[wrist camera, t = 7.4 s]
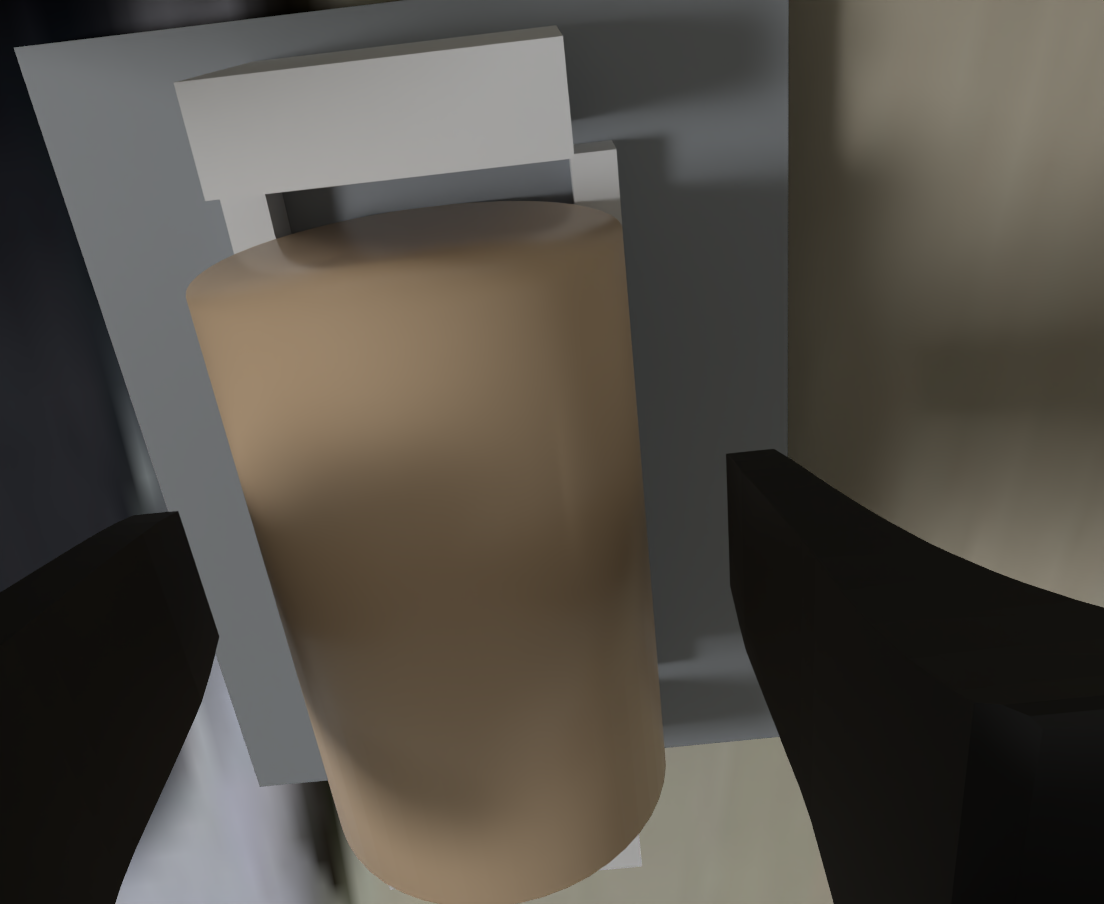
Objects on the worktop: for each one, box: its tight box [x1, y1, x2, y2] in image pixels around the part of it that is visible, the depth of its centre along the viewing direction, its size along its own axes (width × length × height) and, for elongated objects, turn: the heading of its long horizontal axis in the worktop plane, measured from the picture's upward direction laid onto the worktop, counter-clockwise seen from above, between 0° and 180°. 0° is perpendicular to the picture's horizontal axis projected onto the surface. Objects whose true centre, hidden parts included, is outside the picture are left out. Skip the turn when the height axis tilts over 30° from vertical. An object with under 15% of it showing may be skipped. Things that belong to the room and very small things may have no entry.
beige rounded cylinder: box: [186, 201, 666, 904], centre depth 13 cm, size 5×8×5 cm, turn 6°
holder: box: [14, 0, 789, 890], centre depth 14 cm, size 10×13×4 cm
